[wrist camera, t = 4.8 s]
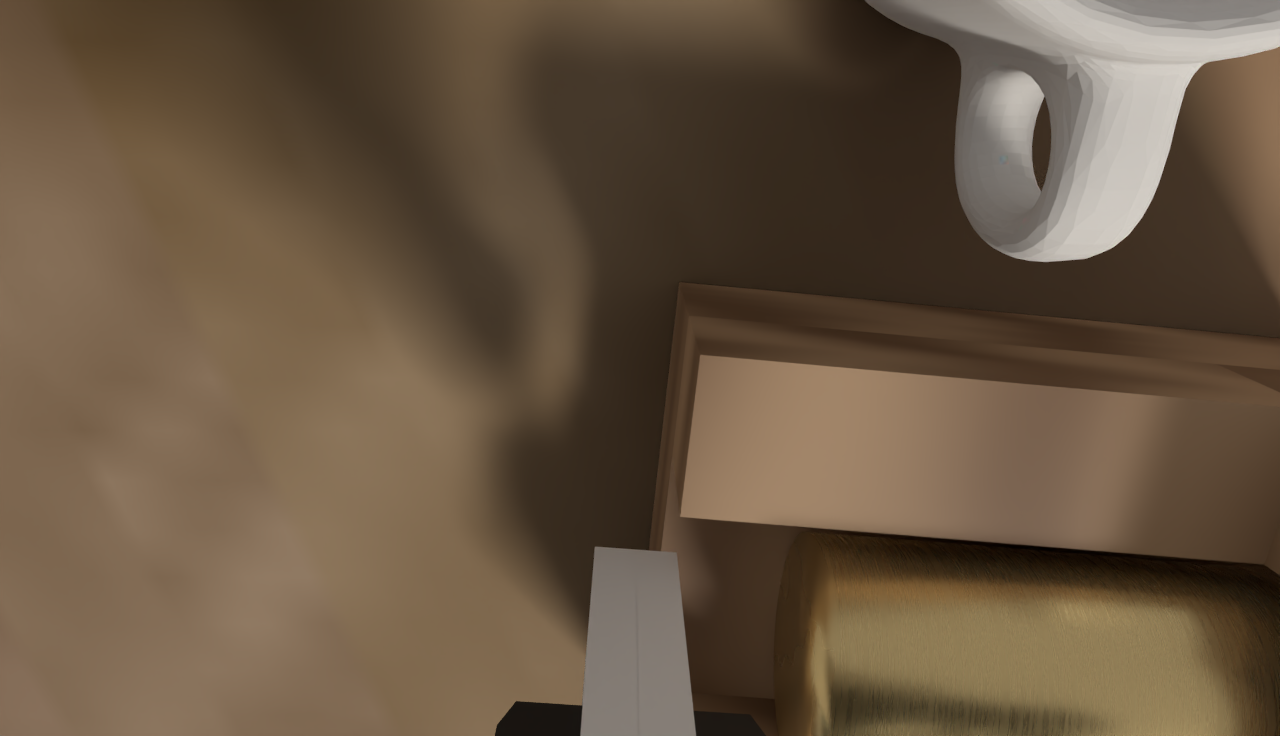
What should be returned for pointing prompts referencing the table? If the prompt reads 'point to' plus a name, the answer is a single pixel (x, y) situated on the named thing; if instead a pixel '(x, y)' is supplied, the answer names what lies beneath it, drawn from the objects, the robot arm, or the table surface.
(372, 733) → the table surface
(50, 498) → the table surface
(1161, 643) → the axle
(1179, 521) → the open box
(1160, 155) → the cup
